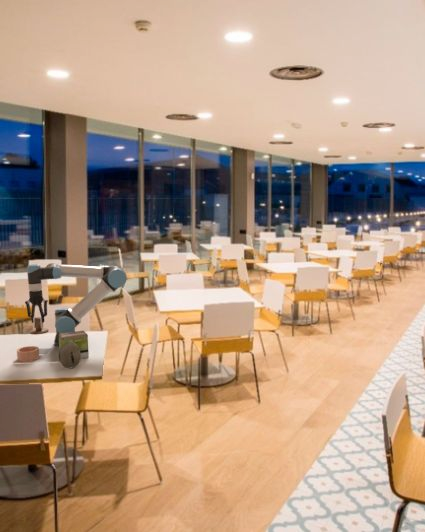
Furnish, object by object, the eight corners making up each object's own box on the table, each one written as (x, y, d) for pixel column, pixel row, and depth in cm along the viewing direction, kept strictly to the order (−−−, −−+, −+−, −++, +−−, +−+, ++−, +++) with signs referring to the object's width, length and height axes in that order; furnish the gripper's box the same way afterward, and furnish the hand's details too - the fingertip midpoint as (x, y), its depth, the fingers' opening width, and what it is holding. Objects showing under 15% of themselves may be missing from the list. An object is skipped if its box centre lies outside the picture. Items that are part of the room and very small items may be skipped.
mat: (51, 349, 342) (51, 348, 342) (46, 354, 331) (46, 353, 331) (33, 349, 342) (33, 348, 342) (28, 355, 331) (28, 354, 331)
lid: (50, 329, 340) (49, 315, 339) (45, 334, 329) (44, 319, 328) (32, 329, 340) (31, 316, 339) (26, 334, 329) (25, 320, 328)
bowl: (41, 355, 330) (41, 345, 329) (35, 362, 318) (34, 352, 317) (21, 356, 329) (20, 346, 329) (14, 362, 318) (14, 352, 317)
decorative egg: (84, 368, 304) (82, 342, 302) (62, 372, 298) (61, 345, 296) (77, 362, 314) (76, 337, 312) (57, 366, 308) (55, 340, 306)
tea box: (63, 362, 316) (61, 337, 314) (59, 357, 325) (58, 333, 323) (89, 357, 323) (87, 333, 321) (84, 353, 332) (83, 329, 330)
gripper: (51, 288, 335) (53, 325, 338) (23, 289, 334) (26, 326, 338) (47, 290, 327) (50, 328, 331) (19, 291, 327) (22, 329, 330)
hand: (38, 327), depth 334 cm, fingers closed on lid, 3 cm apart
